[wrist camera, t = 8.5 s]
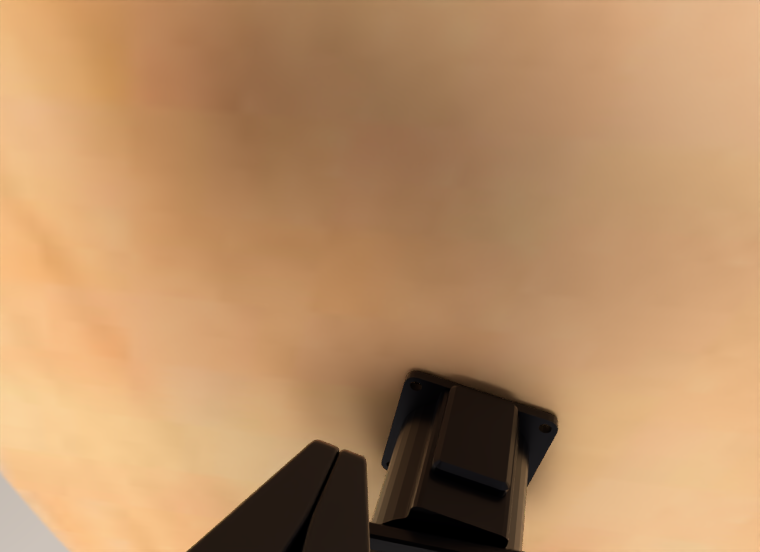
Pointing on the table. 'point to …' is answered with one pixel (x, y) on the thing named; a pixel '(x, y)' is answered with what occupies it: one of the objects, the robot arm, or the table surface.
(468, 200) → the table surface
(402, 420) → the robot arm
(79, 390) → the table surface
